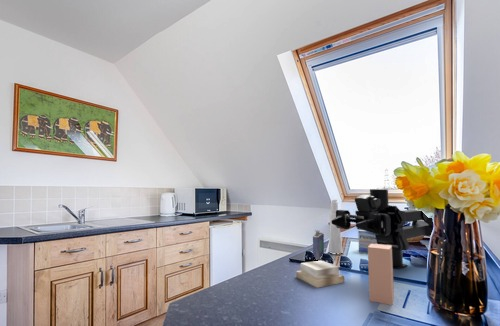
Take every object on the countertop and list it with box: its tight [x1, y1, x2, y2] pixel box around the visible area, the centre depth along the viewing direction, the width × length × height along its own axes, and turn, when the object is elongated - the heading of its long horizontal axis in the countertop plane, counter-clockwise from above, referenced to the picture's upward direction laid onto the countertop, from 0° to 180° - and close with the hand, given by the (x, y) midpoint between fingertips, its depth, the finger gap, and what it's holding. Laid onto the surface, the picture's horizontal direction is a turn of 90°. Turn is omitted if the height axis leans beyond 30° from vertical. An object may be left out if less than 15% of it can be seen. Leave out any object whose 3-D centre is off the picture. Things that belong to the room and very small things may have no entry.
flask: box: [312, 229, 325, 261], centre depth 112 cm, size 9×3×11 cm, turn 151°
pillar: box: [367, 244, 395, 306], centre depth 72 cm, size 5×5×13 cm
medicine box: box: [357, 229, 377, 253], centre depth 122 cm, size 8×4×9 cm, turn 62°
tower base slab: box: [295, 269, 345, 288], centre depth 87 cm, size 10×10×2 cm
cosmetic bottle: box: [327, 199, 344, 254], centre depth 120 cm, size 6×6×22 cm
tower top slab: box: [300, 259, 340, 279], centre depth 87 cm, size 8×8×2 cm
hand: (343, 223), depth 88 cm, fingers open, 9 cm apart
